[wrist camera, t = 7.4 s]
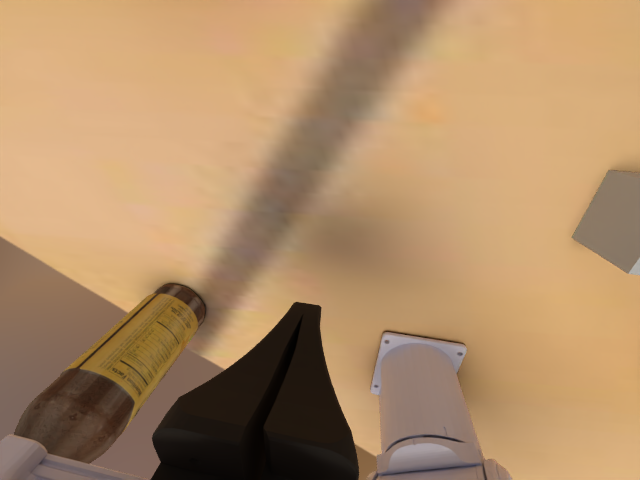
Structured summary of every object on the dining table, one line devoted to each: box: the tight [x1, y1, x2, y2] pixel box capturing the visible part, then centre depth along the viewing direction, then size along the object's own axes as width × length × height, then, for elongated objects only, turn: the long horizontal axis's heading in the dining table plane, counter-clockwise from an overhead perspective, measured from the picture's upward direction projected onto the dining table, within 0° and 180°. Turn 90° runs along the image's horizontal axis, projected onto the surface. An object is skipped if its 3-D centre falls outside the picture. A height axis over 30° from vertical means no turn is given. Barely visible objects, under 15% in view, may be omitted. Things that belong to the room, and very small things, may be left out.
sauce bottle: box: [14, 284, 205, 464], centre depth 21 cm, size 6×6×20 cm
